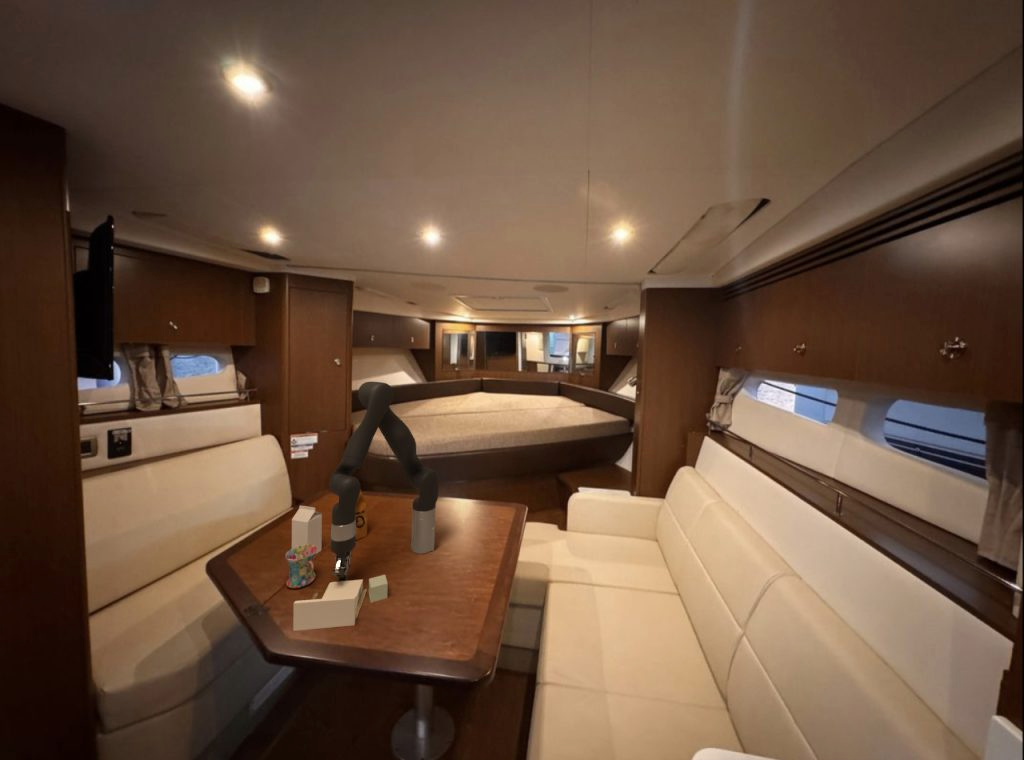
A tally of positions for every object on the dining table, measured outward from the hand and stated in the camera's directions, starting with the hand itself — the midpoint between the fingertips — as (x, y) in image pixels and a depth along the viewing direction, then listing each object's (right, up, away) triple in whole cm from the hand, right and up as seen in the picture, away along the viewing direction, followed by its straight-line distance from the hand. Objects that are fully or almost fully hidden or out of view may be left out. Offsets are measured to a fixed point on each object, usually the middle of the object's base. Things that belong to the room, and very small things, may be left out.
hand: (342, 584), depth 111 cm
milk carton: (-23, 0, +18) cm, 30 cm away
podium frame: (+2, -2, -9) cm, 9 cm away
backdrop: (+3, -2, -16) cm, 16 cm away
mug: (-14, -1, +2) cm, 14 cm away
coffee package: (-13, 0, +34) cm, 36 cm away
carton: (+3, -2, -6) cm, 7 cm away
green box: (+13, -2, -2) cm, 13 cm away
